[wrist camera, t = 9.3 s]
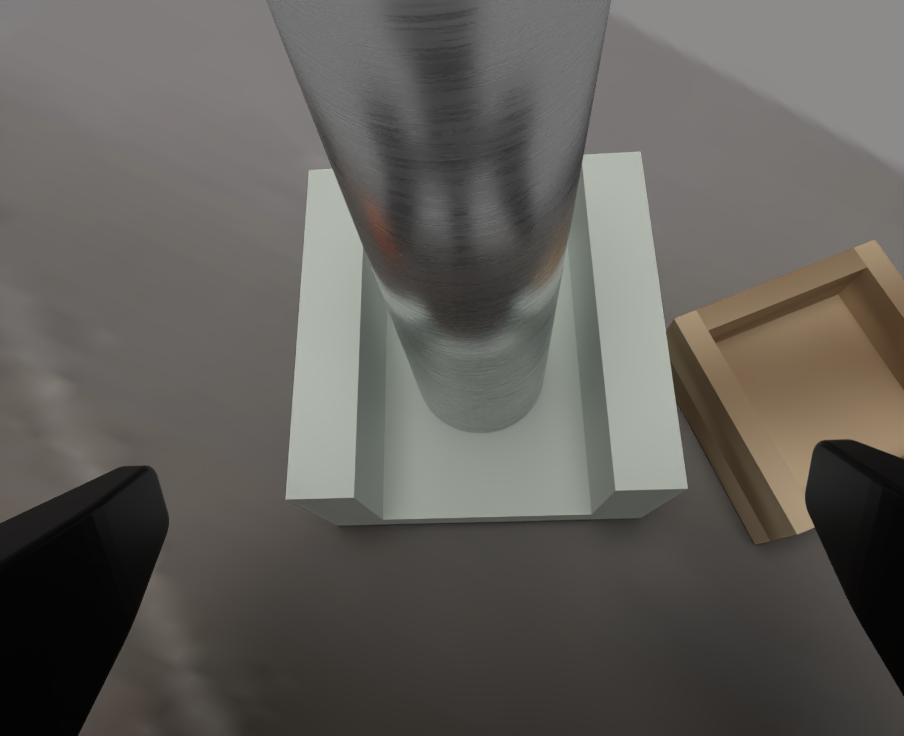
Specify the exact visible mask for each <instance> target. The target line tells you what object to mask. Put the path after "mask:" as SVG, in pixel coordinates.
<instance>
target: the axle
mask: <svg viewBox="0 0 904 736" xmlns="http://www.w3.org/2000/svg"><path fill="white" fill-rule="evenodd" d="M266 1H267V4H268V6H269V9H270V12H271V14H272V17H273V19H274V22H275V24H276V27H277V29H278V32H279V34H280V37H281V40H282V42H283V45H284V47H285V50H286V52H287V55H288V57H289V60H290V62H291V65H292V67H293V70H294V73H295V75H296V78H297V80H298V83H299V85H300V88H301V90H302V93H303V95H304V98H305V100H306V103H307V106H308V108H309V111H310V113H311V116H312V118H313V121H314V123H315V126H316V128H317V131H318V133H319V136H320V139H321V141H322V144H323V146H324V149H325V151H326V154H327V156H328V159H329V161H330V164H331V166H332V169H333V172H334V174H335V177H336V179H337V182H338V184H339V187H340V189H341V192H342V194H343V197H344V199H345V202H346V205H347V207H348V210H349V212H350V215H351V217H352V220H353V222H354V225H355V227H356V230H357V232H358V235H359V238H360V240H361V243H362V245H363V248H364V250H365V253H366V255H367V258H368V260H369V263H370V265H371V268H372V271H373V273H374V276H375V278H376V281H377V283H378V286H379V288H380V291H381V293H382V296H383V299H384V301H385V304H386V306H387V309H388V311H389V314H390V316H391V319H392V321H393V324H394V326H395V329H396V332H397V334H398V337H399V339H400V342H401V344H402V347H403V349H404V352H405V354H406V357H407V359H408V362H409V365H410V367H411V370H412V372H413V375H414V377H415V380H416V382H417V385H418V387H419V390H420V392H421V395H422V397H423V399H424V401H425V403H426V405H427V406H428V408H429V409H430V410H431V411H432V412H433V414H434V415H435V416H436V417H438V418H439V419H440V420H441V421H443V422H444V423H446V424H447V425H449V426H451V427H453V428H455V429H458V430H461V431H465V432H470V433H490V432H495V431H499V430H502V429H505V428H507V427H509V426H511V425H513V424H515V423H516V422H518V421H519V420H521V419H522V418H523V417H524V416H525V415H526V414H527V413H528V412H529V411H530V410H531V409H532V407H533V406H534V404H535V403H536V401H537V399H538V397H539V395H540V392H541V389H542V385H543V380H544V374H545V368H546V363H547V357H548V352H549V346H550V340H551V335H552V329H553V324H554V318H555V312H556V307H557V301H558V295H559V290H560V284H561V279H562V273H563V267H564V262H565V256H566V251H567V245H568V239H569V234H570V228H571V222H572V217H573V211H574V206H575V200H576V194H577V189H578V183H579V178H580V172H581V166H582V161H583V155H584V149H585V144H586V138H587V133H588V127H589V121H590V116H591V110H592V105H593V99H594V93H595V88H596V82H597V76H598V71H599V65H600V60H601V54H602V48H603V43H604V37H605V32H606V26H607V20H608V15H609V9H610V3H611V0H266Z"/></svg>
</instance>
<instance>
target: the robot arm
mask: <svg viewBox="0 0 904 736" xmlns="http://www.w3.org/2000/svg"><path fill="white" fill-rule="evenodd" d="M805 503H806V508H807V511H808V514H809V516H810V518H811V520H812V522H813V525H814V527H815V529H816V531H817V533H818V536H819V538H820V540H821V542H822V544H823V547H824V549H825V551H826V553H827V555H828V558H829V560H830V562H831V564H832V566H833V569H834V571H835V573H836V575H837V577H838V580H839V582H840V584H841V586H842V588H843V590H844V593H845V595H846V597H847V599H848V601H849V603H850V605H851V607H852V609H853V611H854V613H855V614H856V616H857V618H858V620H859V621H860V623H861V625H862V627H863V629H864V630H865V632H866V634H867V635H868V637H869V639H870V640H871V642H872V644H873V645H874V647H875V649H876V650H877V652H878V654H879V655H880V657H881V659H882V660H883V662H884V664H885V666H886V667H887V669H888V671H889V672H890V674H891V676H892V677H893V679H894V681H895V682H896V684H897V686H898V687H899V689H900V691H901V692H902V694H903V696H904V459H903V458H900V457H897V456H895V455H892V454H889V453H887V452H884V451H882V450H879V449H876V448H874V447H871V446H868V445H866V444H863V443H860V442H858V441H855V440H851V439H837V440H822V441H820V442H818V443H817V444H816V445H815V447H814V449H813V452H812V457H811V463H810V468H809V474H808V479H807V485H806V490H805ZM168 526H169V516H168V511H167V508H166V504H165V501H164V497H163V494H162V490H161V487H160V483H159V480H158V476H157V474H156V472H155V470H154V469H153V468H151V467H150V466H123V467H119V468H117V469H115V470H113V471H110V472H108V473H106V474H104V475H102V476H100V477H98V478H96V479H93V480H91V481H89V482H87V483H85V484H83V485H81V486H79V487H76V488H74V489H72V490H70V491H68V492H66V493H64V494H62V495H59V496H57V497H55V498H53V499H51V500H49V501H47V502H45V503H42V504H40V505H38V506H36V507H34V508H32V509H30V510H28V511H25V512H23V513H21V514H19V515H17V516H15V517H13V518H11V519H8V520H6V521H4V522H2V523H0V736H78V734H79V732H80V730H81V728H82V726H83V724H84V722H85V720H86V718H87V716H88V714H89V712H90V710H91V708H92V706H93V704H94V702H95V700H96V698H97V696H98V694H99V692H100V690H101V688H102V686H103V684H104V682H105V680H106V678H107V676H108V674H109V672H110V670H111V668H112V666H113V664H114V662H115V660H116V658H117V656H118V654H119V652H120V650H121V648H122V646H123V644H124V642H125V640H126V638H127V636H128V633H129V631H130V629H131V627H132V624H133V622H134V620H135V617H136V615H137V612H138V610H139V607H140V604H141V602H142V599H143V596H144V594H145V591H146V588H147V586H148V583H149V580H150V578H151V575H152V572H153V569H154V567H155V564H156V561H157V559H158V556H159V553H160V551H161V548H162V545H163V543H164V540H165V537H166V535H167V531H168Z"/></svg>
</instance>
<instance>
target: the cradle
mask: <svg viewBox="0 0 904 736" xmlns="http://www.w3.org/2000/svg"><path fill="white" fill-rule="evenodd" d="M687 489H688V485H687V478H686V471H685V464H684V457H683V450H682V443H681V436H680V428H679V421H678V414H677V407H676V400H675V393H674V386H673V379H672V372H671V364H670V357H669V350H668V343H667V336H666V329H665V322H664V315H663V308H662V300H661V293H660V286H659V279H658V272H657V265H656V258H655V251H654V243H653V236H652V229H651V222H650V215H649V208H648V201H647V194H646V187H645V179H644V172H643V165H642V158H641V152H624V153H606V154H589V155H583V161H582V166H581V172H580V178H579V183H578V189H577V194H576V200H575V206H574V211H573V217H572V222H571V228H570V234H569V239H568V245H567V251H566V256H565V262H564V267H563V273H562V279H561V284H560V290H559V295H558V301H557V307H556V312H555V318H554V324H553V329H552V335H551V340H550V346H549V352H548V357H547V363H546V368H545V374H544V380H543V385H542V389H541V392H540V395H539V397H538V399H537V401H536V403H535V404H534V406H533V407H532V409H531V410H530V411H529V412H528V413H527V414H526V415H525V416H524V417H523V418H522V419H521V420H519V421H518V422H516V423H515V424H513V425H511V426H509V427H507V428H505V429H502V430H499V431H495V432H490V433H470V432H465V431H461V430H458V429H455V428H453V427H451V426H449V425H447V424H446V423H444V422H443V421H441V420H440V419H439V418H438V417H436V416H435V415H434V414H433V412H432V411H431V410H430V409H429V408H428V406H427V405H426V403H425V401H424V399H423V397H422V395H421V392H420V390H419V387H418V385H417V382H416V380H415V377H414V375H413V372H412V370H411V367H410V365H409V362H408V359H407V357H406V354H405V352H404V349H403V347H402V344H401V342H400V339H399V337H398V334H397V332H396V329H395V326H394V324H393V321H392V319H391V316H390V314H389V311H388V309H387V306H386V304H385V301H384V299H383V296H382V293H381V291H380V288H379V286H378V283H377V281H376V278H375V276H374V273H373V271H372V268H371V265H370V263H369V260H368V258H367V255H366V253H365V250H364V248H363V245H362V243H361V240H360V238H359V235H358V232H357V230H356V227H355V225H354V222H353V220H352V217H351V215H350V212H349V210H348V207H347V205H346V202H345V199H344V197H343V194H342V192H341V189H340V187H339V184H338V182H337V179H336V177H335V174H334V172H333V169H320V170H309V179H308V193H307V207H306V221H305V235H304V249H303V263H302V277H301V291H300V305H299V319H298V333H297V347H296V361H295V375H294V389H293V403H292V417H291V431H290V445H289V459H288V473H287V487H286V500H287V501H289V502H291V503H293V504H295V505H297V506H299V507H301V508H303V509H305V510H307V511H309V512H311V513H313V514H315V515H317V516H319V517H321V518H323V519H325V520H327V521H329V522H331V523H333V524H335V525H337V526H343V525H383V524H424V523H465V522H506V521H547V520H588V519H629V518H642V517H644V516H645V515H647V514H648V513H650V512H652V511H653V510H655V509H656V508H658V507H660V506H661V505H663V504H664V503H666V502H668V501H669V500H671V499H672V498H674V497H676V496H677V495H679V494H680V493H682V492H684V491H685V490H687Z"/></svg>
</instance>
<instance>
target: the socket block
mask: <svg viewBox="0 0 904 736" xmlns="http://www.w3.org/2000/svg"><path fill="white" fill-rule="evenodd" d="M666 336H667V343H668V350H669V357H670V364H671V372H672V379H673V386H674V393H675V399H676V401H677V402H678V404H679V406H680V408H681V410H682V412H683V413H684V415H685V417H686V419H687V421H688V423H689V424H690V426H691V428H692V430H693V432H694V434H695V435H696V437H697V439H698V441H699V443H700V445H701V447H702V448H703V450H704V452H705V454H706V456H707V458H708V459H709V461H710V463H711V465H712V467H713V469H714V470H715V472H716V474H717V476H718V478H719V480H720V481H721V483H722V485H723V487H724V489H725V491H726V492H727V494H728V496H729V498H730V500H731V502H732V503H733V505H734V507H735V509H736V511H737V513H738V514H739V516H740V518H741V520H742V522H743V524H744V526H745V527H746V529H747V531H748V533H749V535H750V537H751V538H752V540H753V542H754V544H755V545H757V544H761V543H765V542H769V541H774V540H778V539H782V538H786V537H790V536H794V535H798V534H800V533H803V532H805V531H807V530H810V529H812V528H814V525H813V522H812V520H811V518H810V516H809V514H808V511H807V508H806V503H805V490H806V485H807V479H808V474H809V468H810V463H811V457H812V452H813V449H814V447H815V445H816V444H817V443H818V442H820V441H822V440H837V439H851V440H855V441H858V442H860V443H863V444H866V445H868V446H871V447H874V448H876V449H879V450H882V451H884V452H887V453H889V454H892V455H895V456H897V457H900V458H903V459H904V279H903V278H902V276H901V275H900V273H899V272H898V271H897V269H896V268H895V267H894V265H893V264H892V263H891V261H890V260H889V258H888V257H887V256H886V254H885V253H884V252H883V250H882V249H881V248H880V246H879V245H878V243H877V242H876V241H875V240H872V241H870V242H867V243H865V244H862V245H860V246H857V247H855V248H852V249H850V250H847V251H845V252H842V253H840V254H837V255H834V256H832V257H829V258H827V259H824V260H822V261H819V262H817V263H814V264H812V265H809V266H807V267H804V268H801V269H799V270H796V271H794V272H791V273H789V274H786V275H784V276H781V277H779V278H776V279H774V280H771V281H769V282H766V283H763V284H761V285H758V286H756V287H753V288H751V289H748V290H746V291H743V292H741V293H738V294H736V295H733V296H730V297H728V298H725V299H723V300H720V301H718V302H715V303H713V304H710V305H708V306H705V307H703V308H700V309H698V310H695V311H692V312H690V313H687V314H685V315H682V316H680V317H677V318H675V319H674V320H673V321H672V323H671V325H670V326H669V328H668V330H667V331H666Z"/></svg>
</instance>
